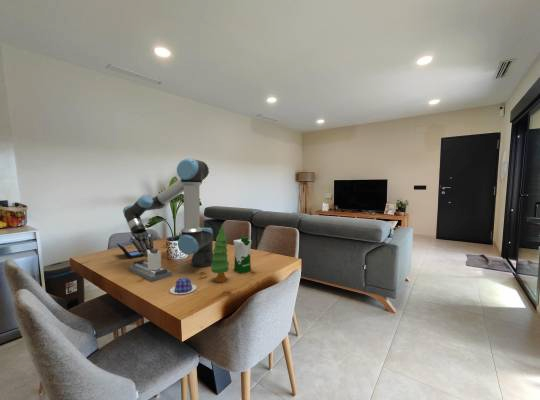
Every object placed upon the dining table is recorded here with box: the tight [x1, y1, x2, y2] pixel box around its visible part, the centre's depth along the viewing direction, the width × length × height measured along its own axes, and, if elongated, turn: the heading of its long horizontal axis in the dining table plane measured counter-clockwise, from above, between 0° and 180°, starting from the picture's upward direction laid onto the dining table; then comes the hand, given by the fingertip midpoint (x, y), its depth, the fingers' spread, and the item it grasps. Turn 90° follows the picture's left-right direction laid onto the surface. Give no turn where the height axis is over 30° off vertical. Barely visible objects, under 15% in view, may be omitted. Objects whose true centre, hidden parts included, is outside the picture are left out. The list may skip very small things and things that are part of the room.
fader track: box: [128, 259, 173, 283], centre depth 140 cm, size 28×11×4 cm, turn 51°
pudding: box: [169, 277, 197, 295], centre depth 118 cm, size 12×12×5 cm
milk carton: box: [233, 236, 252, 274], centre depth 144 cm, size 9×9×20 cm
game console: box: [116, 243, 145, 260], centre depth 174 cm, size 16×14×9 cm
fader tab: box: [147, 248, 162, 272], centre depth 136 cm, size 5×6×12 cm
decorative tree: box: [210, 223, 230, 283], centre depth 129 cm, size 10×9×30 cm
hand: (151, 260), depth 137 cm, fingers closed
